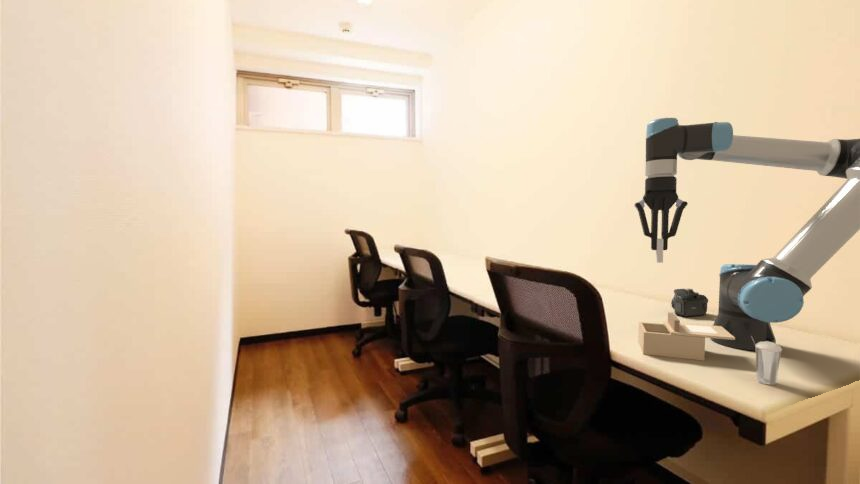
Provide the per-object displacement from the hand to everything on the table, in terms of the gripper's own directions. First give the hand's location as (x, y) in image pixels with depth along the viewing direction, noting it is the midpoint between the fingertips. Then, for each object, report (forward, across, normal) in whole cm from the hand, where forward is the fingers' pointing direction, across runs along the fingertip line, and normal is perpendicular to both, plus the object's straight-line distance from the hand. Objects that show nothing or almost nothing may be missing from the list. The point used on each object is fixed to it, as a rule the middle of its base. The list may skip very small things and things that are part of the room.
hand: (658, 261), depth 112 cm
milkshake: (+25, -18, +18) cm, 36 cm away
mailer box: (+24, -3, +2) cm, 25 cm away
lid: (+18, -9, +2) cm, 21 cm away
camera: (+25, -18, -45) cm, 55 cm away
